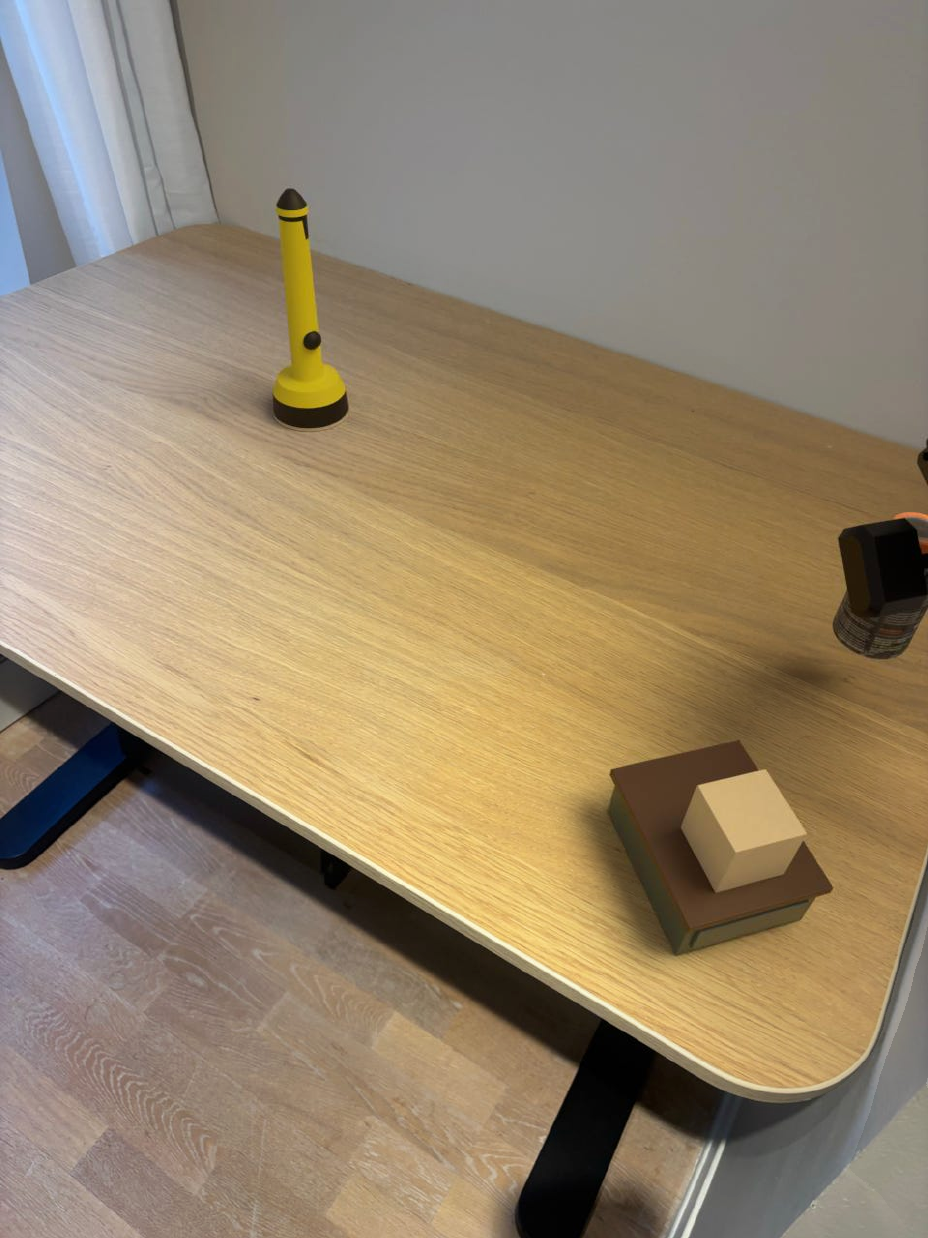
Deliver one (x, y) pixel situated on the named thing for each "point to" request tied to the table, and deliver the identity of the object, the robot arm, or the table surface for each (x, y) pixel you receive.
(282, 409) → the flashlight
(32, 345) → the table surface
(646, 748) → the table surface
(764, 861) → the beige cube
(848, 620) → the pill bottle
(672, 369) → the table surface
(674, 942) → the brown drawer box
